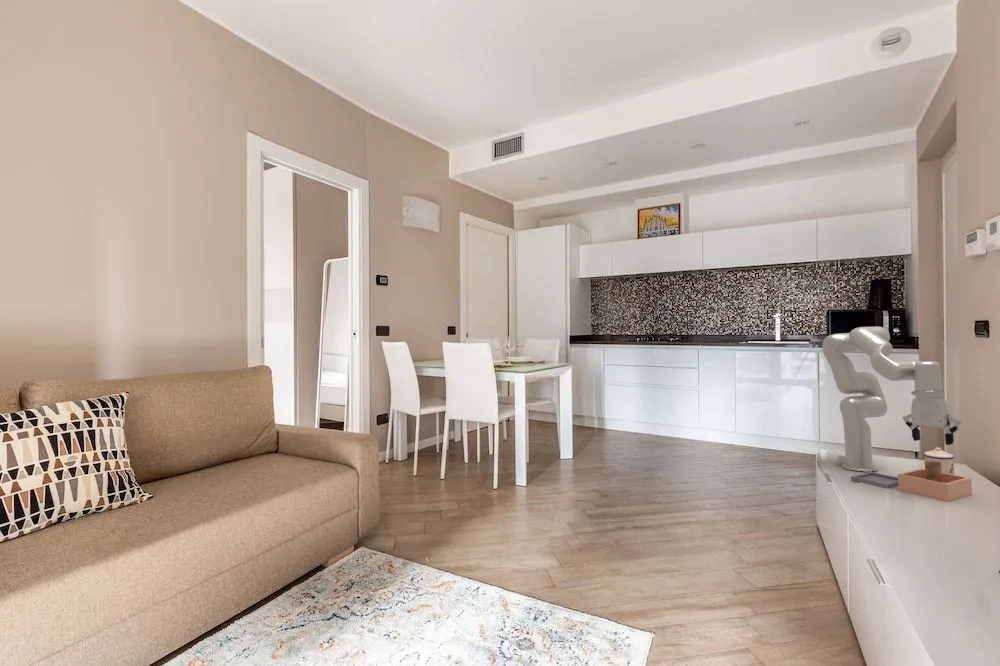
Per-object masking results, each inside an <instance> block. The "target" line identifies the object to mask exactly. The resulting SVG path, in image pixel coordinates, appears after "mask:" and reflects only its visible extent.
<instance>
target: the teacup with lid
mask: <svg viewBox="0 0 1000 666" xmlns="http://www.w3.org/2000/svg"><path fill="white" fill-rule="evenodd" d="M923 456H924V462H925V461H928V460H929V461H938V462H941V470H942V473H947V474H953V475H955V466H954V464H955V463H954V459H955V457H954V455H953V454H952V453H948V452H946V451H945V450H942V448H941V447H935V448H934V449H933V450H930V451H925V452H924V453H923Z"/></svg>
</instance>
